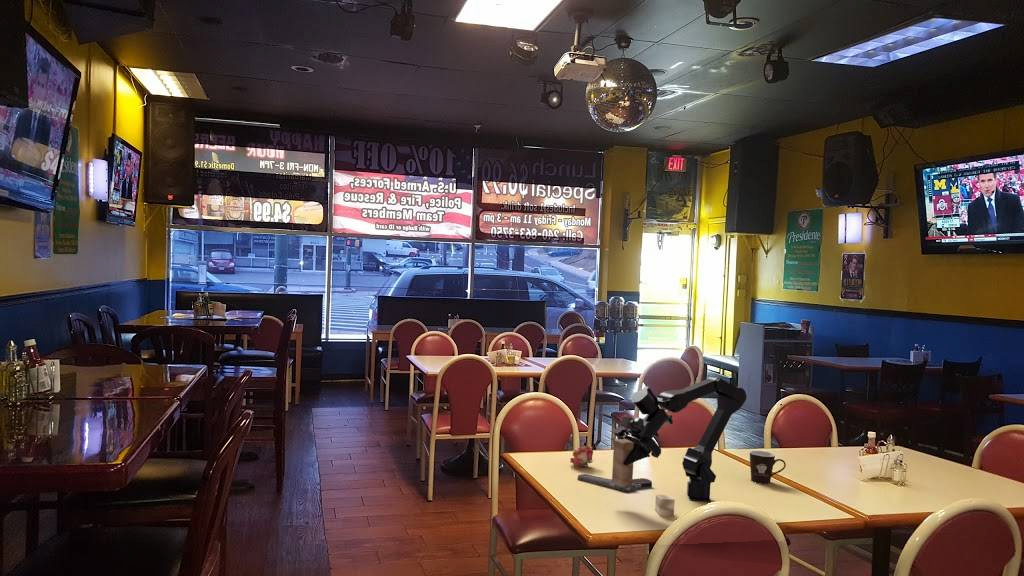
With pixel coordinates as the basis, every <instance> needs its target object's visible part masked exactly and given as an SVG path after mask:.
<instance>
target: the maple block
mask: <svg viewBox="0 0 1024 576" xmlns="http://www.w3.org/2000/svg"><path fill="white" fill-rule="evenodd" d="M675 500H676V499H675V498H674V497H673V496H671V495H670V494H655V505H654V506H655V507H654V512H655V511H656V512H655V513H656V514H657V516H659V517H675Z"/></svg>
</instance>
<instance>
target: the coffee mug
mask: <svg viewBox="0 0 1024 576" xmlns="http://www.w3.org/2000/svg"><path fill="white" fill-rule="evenodd" d="M775 458H776V454H775V453H772V452H769V451H763V450H750V451H749V465H750V469H749V470H750V481H751V482H752V481H753V483H755V482H756V483H755V484H758V483H761V484H760V485H769V484H768V483H770V484H771V479H772V477H773V476H774V475H776V474H778V473H781V472H782V471H783V470H784V469H785V468H786V466H787V465H786V461H784V460H783V459H781V458H777V459H775ZM778 461H779V462H782V463H783V464H784V465H783V467H782V468H781V469H779V470H777V471H775V472H773V469H774V465H775V464H776V463H777V462H778Z"/></svg>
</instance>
